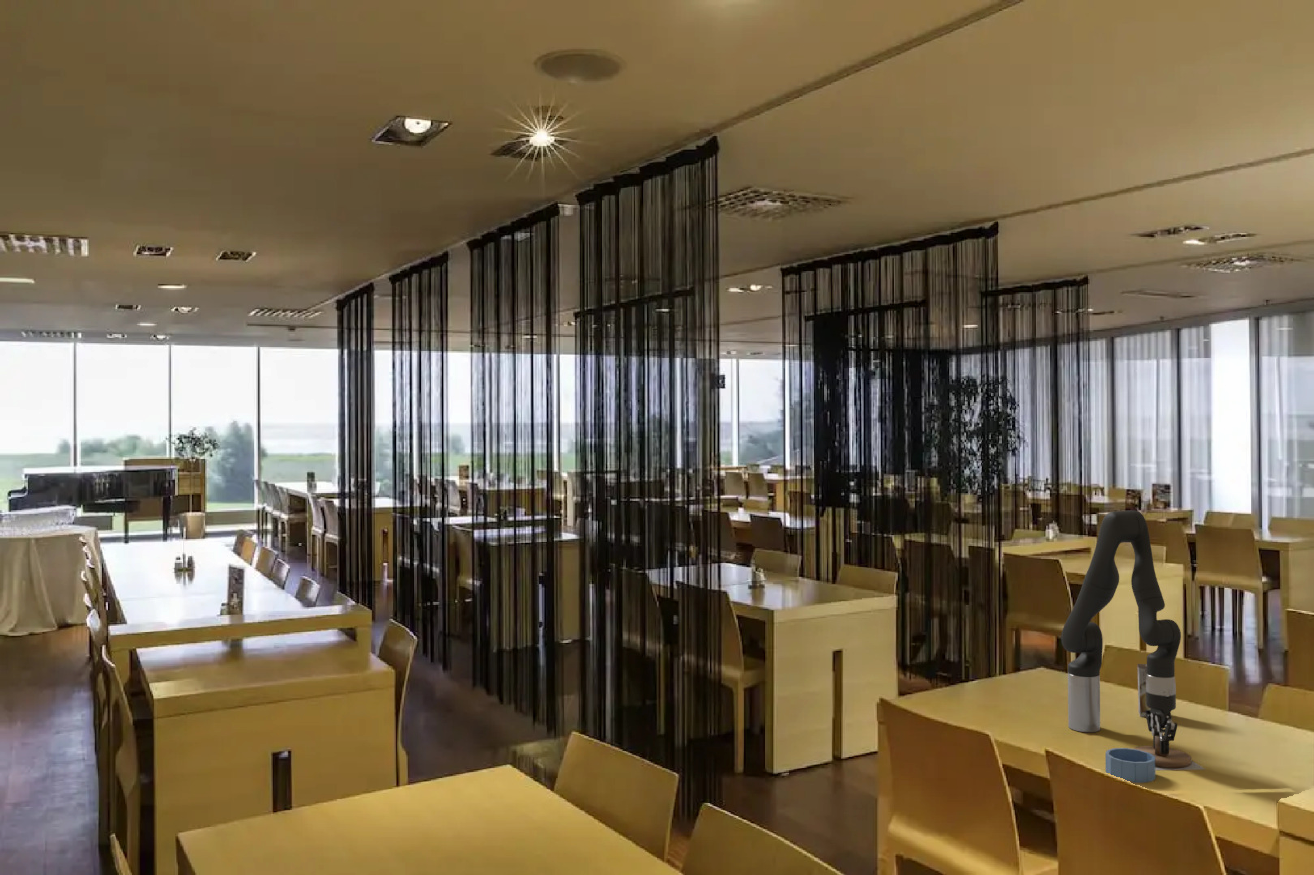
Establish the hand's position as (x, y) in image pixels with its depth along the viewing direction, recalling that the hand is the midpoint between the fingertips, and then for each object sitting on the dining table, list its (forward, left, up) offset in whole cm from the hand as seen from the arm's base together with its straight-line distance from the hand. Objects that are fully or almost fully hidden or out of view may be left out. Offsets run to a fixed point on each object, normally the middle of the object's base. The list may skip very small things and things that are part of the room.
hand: (1161, 751), depth 280 cm
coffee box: (-44, +20, -3) cm, 48 cm away
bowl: (+11, -14, -3) cm, 18 cm away
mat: (0, 0, -3) cm, 3 cm away
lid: (0, 0, -2) cm, 2 cm away
